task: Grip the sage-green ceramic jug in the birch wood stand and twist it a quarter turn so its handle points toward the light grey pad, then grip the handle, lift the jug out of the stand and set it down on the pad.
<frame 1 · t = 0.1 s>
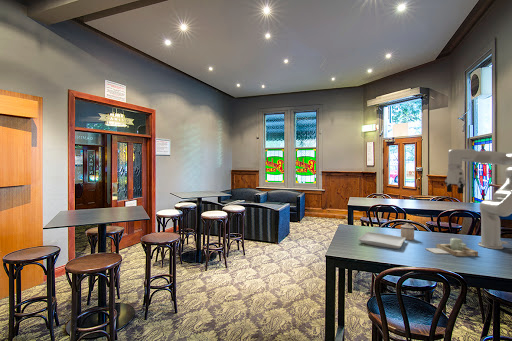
hand: (454, 192, 172), 37 cm above the table, tool pointing down, fingers open, 9 cm apart
jug: (458, 246, 160), in the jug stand
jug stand: (456, 251, 162), on the table
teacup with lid: (406, 238, 193), on the table
pad: (437, 251, 162), on the table
square plate: (382, 243, 182), on the table
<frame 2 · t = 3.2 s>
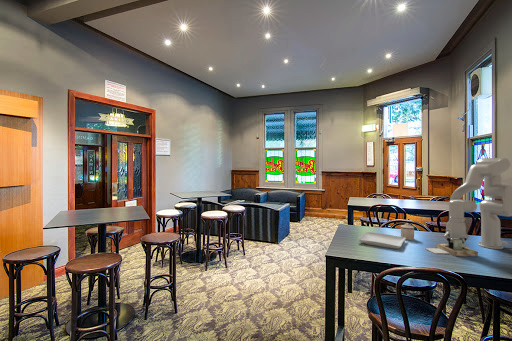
hand: (456, 247, 162), 2 cm above the table, tool pointing down, fingers closed on jug, 5 cm apart
jug: (458, 246, 160), in the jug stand, touching gripper
everything else where it was.
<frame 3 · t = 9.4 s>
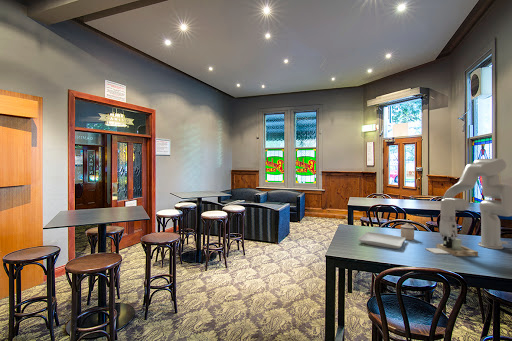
hand: (447, 246, 162), 3 cm above the table, tool pointing down, fingers closed on jug
jug: (452, 245, 162), in the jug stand, touching gripper
everything else where it was.
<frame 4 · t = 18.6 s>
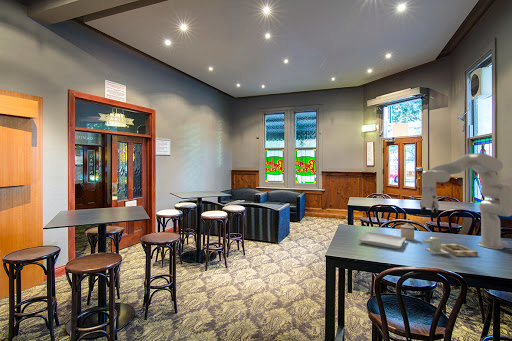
hand: (428, 216, 162), 22 cm above the table, tool pointing down, fingers open, 9 cm apart
jug: (432, 244, 162), on the pad, point 5 cm above the table
everything else where it was.
at the end: jug 1.2 cm off-centre on the pad, point 4.6 cm above the pad's base; jug tilted 1°; the gripper is holding nothing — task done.
